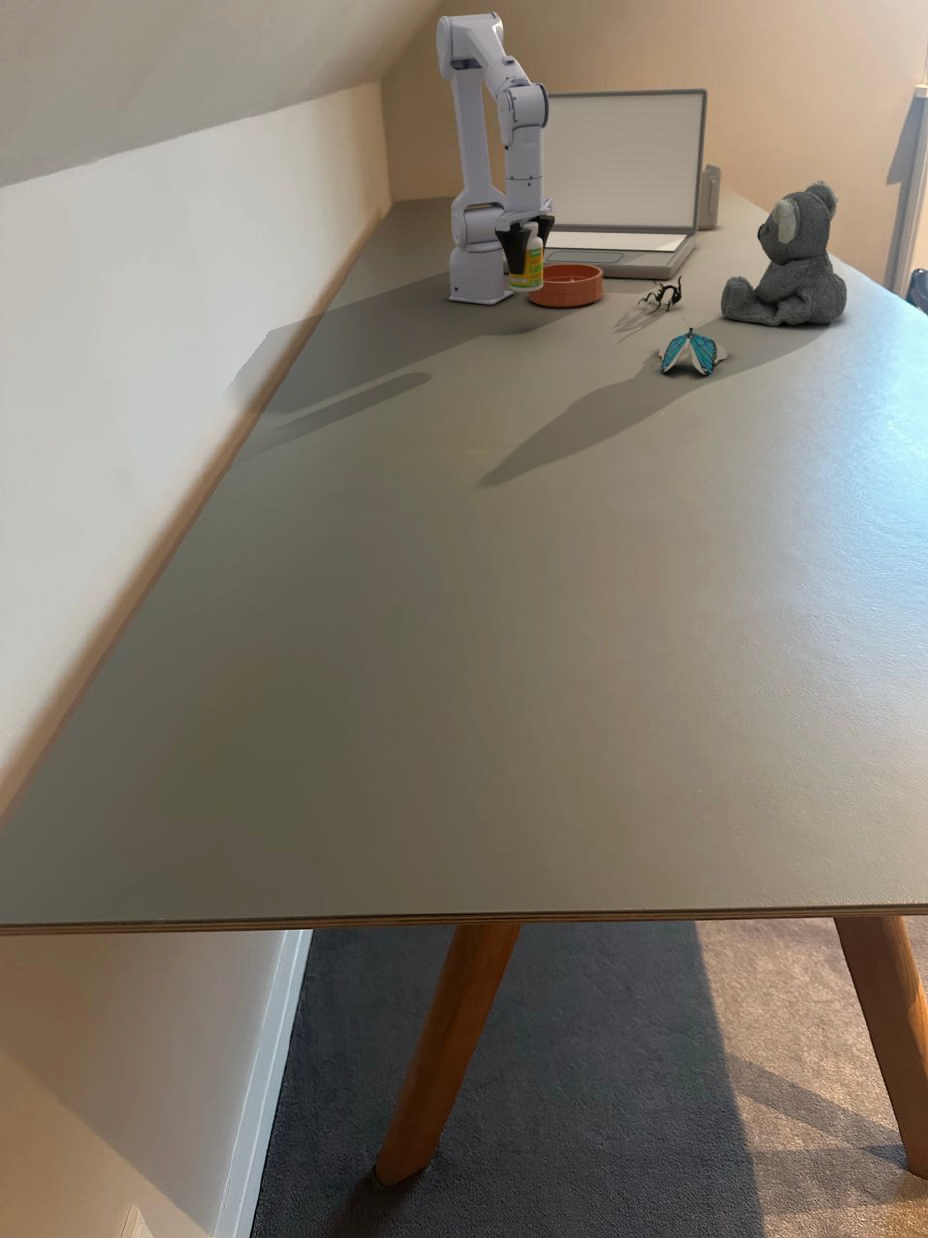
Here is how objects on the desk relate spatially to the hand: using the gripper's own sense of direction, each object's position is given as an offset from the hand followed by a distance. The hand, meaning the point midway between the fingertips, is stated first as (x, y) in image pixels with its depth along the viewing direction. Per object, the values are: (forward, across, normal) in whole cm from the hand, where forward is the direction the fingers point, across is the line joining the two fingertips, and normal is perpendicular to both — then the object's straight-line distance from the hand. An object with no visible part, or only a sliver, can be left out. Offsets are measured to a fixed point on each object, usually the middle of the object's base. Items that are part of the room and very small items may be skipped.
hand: (525, 269), depth 150 cm
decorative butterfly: (+10, -6, -30) cm, 32 cm away
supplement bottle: (+3, 0, 0) cm, 3 cm away
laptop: (+10, +46, +10) cm, 48 cm away
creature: (+10, +19, -15) cm, 26 cm away
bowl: (+10, +19, +3) cm, 22 cm away
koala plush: (+10, +23, -36) cm, 44 cm away
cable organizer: (+10, +82, +2) cm, 83 cm away
